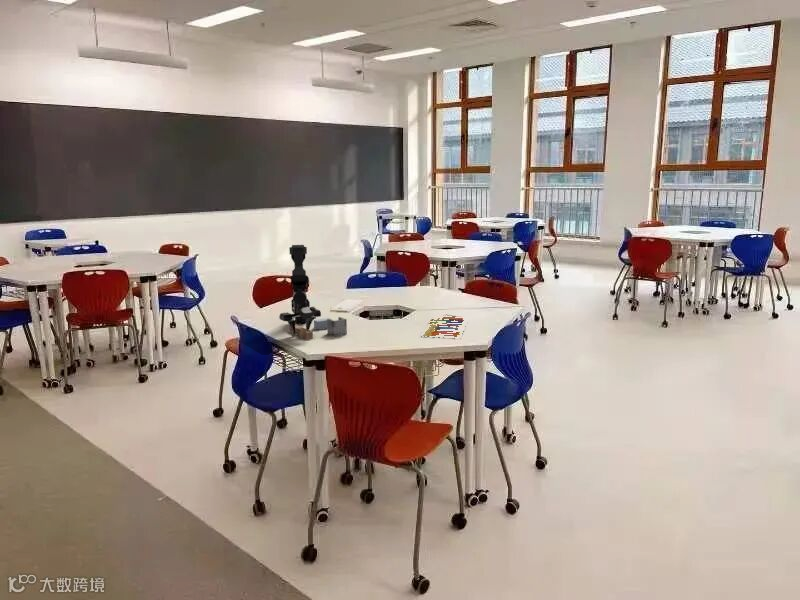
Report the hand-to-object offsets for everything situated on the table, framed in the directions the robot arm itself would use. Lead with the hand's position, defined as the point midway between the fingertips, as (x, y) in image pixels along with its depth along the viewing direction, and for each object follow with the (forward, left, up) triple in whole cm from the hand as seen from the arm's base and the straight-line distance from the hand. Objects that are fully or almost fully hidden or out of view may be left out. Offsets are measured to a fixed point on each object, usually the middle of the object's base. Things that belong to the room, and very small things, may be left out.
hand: (301, 332), depth 279 cm
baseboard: (-44, +51, -2) cm, 67 cm away
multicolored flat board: (+26, +66, -2) cm, 71 cm away
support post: (-6, +15, -1) cm, 16 cm away
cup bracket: (+8, +15, -1) cm, 17 cm away
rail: (0, 0, -1) cm, 1 cm away
